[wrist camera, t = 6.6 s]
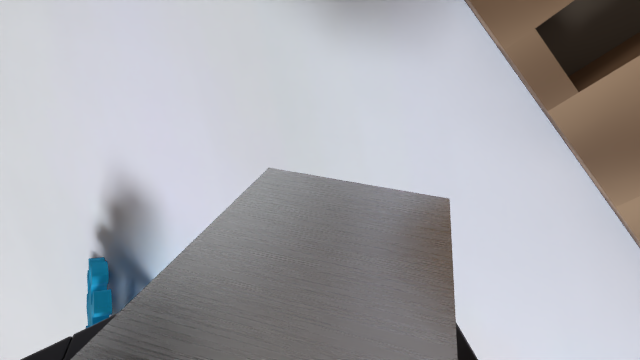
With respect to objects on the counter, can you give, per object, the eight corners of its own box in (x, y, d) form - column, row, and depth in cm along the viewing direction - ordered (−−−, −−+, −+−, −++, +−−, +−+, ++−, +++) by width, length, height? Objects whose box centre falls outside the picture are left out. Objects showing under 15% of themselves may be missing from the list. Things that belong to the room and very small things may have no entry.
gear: (78, 224, 23) (81, 405, 17) (183, 219, 26) (216, 369, 20) (75, 317, 29) (77, 470, 23) (159, 304, 32) (179, 435, 27)
